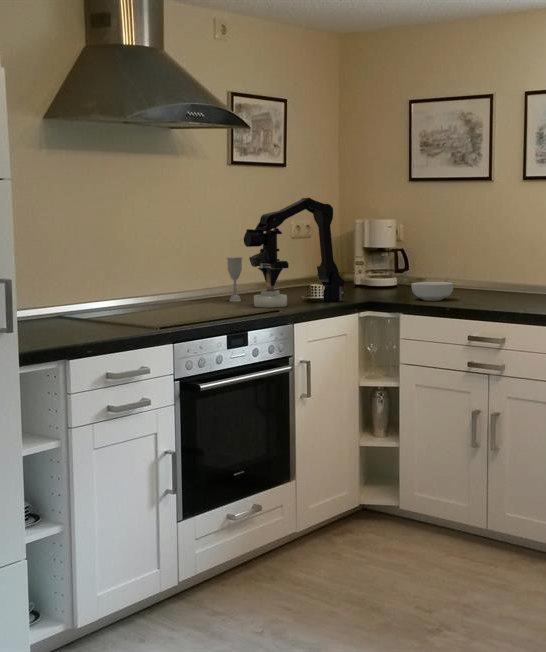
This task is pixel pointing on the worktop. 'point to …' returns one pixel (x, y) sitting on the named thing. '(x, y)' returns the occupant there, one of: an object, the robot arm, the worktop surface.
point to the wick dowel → (269, 287)
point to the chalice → (234, 273)
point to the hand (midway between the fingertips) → (270, 285)
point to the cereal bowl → (432, 290)
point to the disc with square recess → (270, 299)
